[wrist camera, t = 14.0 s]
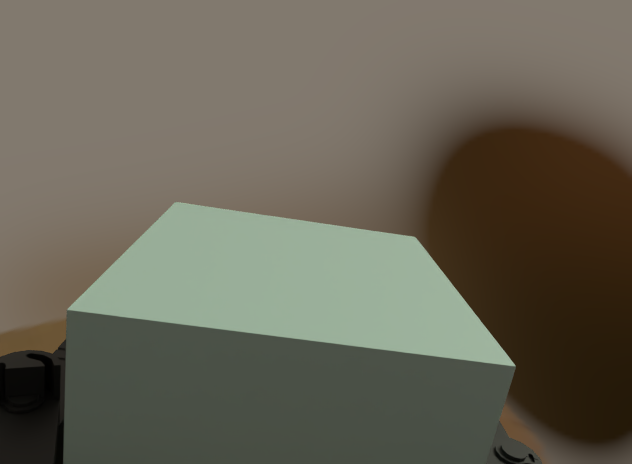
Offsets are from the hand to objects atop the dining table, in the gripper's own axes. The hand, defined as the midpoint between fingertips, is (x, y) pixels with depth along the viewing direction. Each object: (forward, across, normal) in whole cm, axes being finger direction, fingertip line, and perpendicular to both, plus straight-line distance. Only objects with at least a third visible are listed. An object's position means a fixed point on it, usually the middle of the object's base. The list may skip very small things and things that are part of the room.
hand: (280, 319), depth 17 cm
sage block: (-5, 0, -6) cm, 8 cm away
